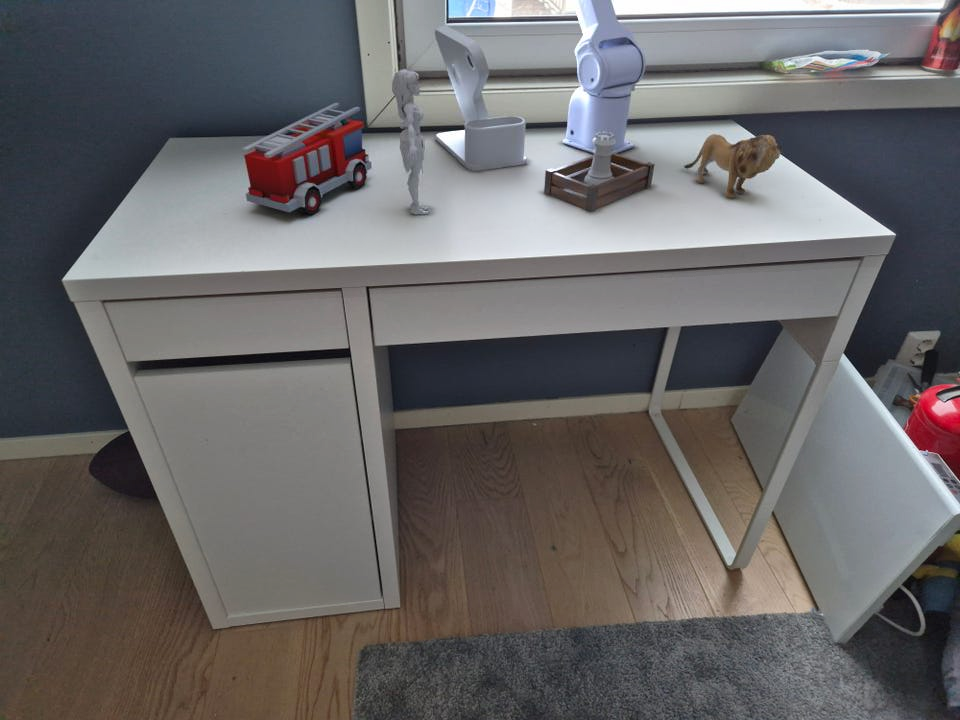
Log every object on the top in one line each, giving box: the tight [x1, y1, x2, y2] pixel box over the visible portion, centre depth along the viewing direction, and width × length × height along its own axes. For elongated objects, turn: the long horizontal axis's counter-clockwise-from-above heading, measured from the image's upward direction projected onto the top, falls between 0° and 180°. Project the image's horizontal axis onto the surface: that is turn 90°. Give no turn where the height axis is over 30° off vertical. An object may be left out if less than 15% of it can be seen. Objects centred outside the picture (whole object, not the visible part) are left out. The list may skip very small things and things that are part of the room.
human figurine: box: [391, 68, 429, 215], centre depth 83 cm, size 12×4×18 cm, turn 10°
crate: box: [543, 150, 656, 213], centre depth 94 cm, size 9×14×3 cm, turn 132°
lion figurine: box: [683, 133, 782, 199], centre depth 94 cm, size 15×5×9 cm, turn 33°
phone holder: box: [434, 25, 527, 172], centre depth 103 cm, size 17×10×18 cm, turn 23°
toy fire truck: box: [241, 102, 373, 216], centre depth 90 cm, size 9×19×10 cm, turn 152°
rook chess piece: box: [583, 132, 616, 185], centre depth 93 cm, size 4×4×8 cm
